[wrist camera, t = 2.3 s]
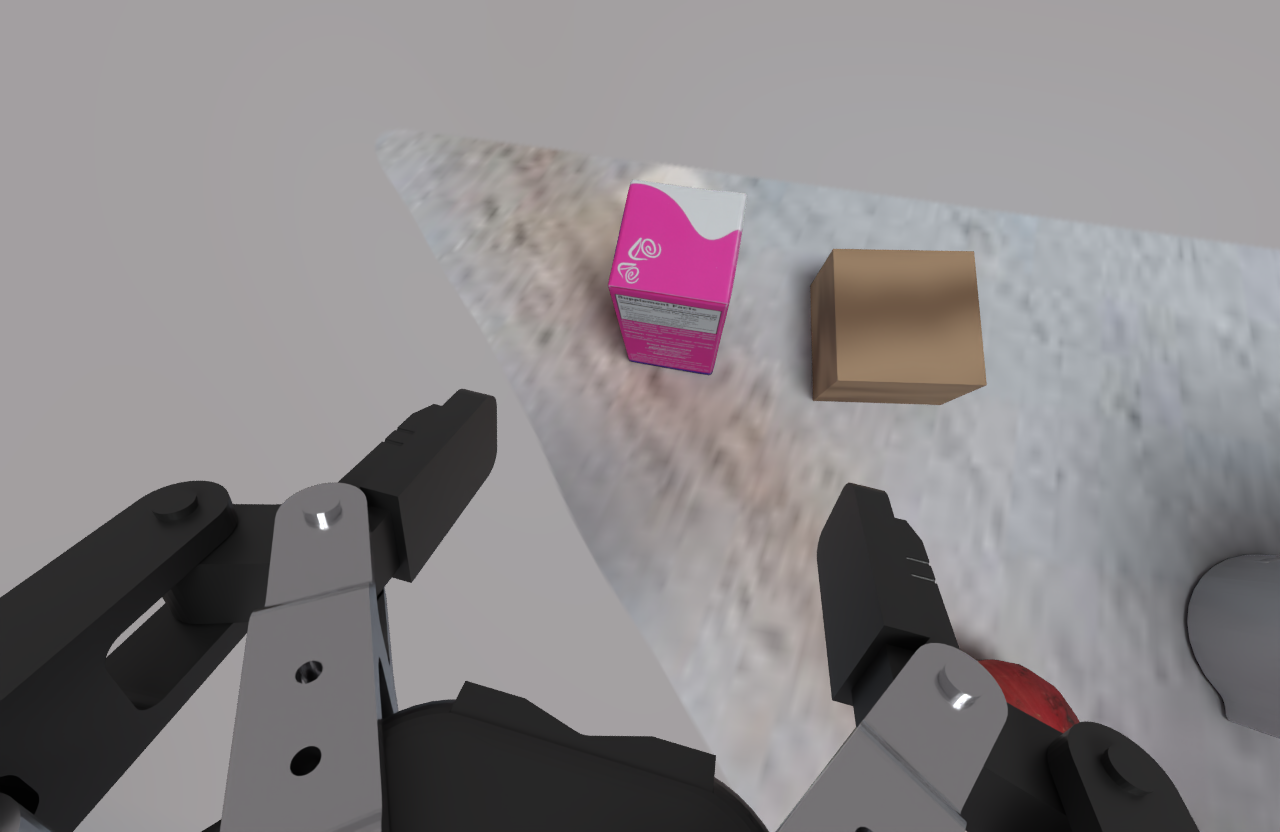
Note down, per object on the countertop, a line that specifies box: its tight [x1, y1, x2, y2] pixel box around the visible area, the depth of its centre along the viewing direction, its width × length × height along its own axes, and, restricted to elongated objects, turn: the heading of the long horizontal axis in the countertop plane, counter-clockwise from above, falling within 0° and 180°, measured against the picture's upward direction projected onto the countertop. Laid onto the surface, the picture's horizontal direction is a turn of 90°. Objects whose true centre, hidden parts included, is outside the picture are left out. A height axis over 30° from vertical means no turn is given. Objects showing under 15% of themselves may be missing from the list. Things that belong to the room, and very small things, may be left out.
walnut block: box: [810, 249, 987, 405], centre depth 32 cm, size 8×8×5 cm
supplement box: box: [608, 180, 747, 375], centre depth 29 cm, size 6×6×12 cm
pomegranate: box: [978, 660, 1079, 733], centre depth 25 cm, size 6×6×8 cm
